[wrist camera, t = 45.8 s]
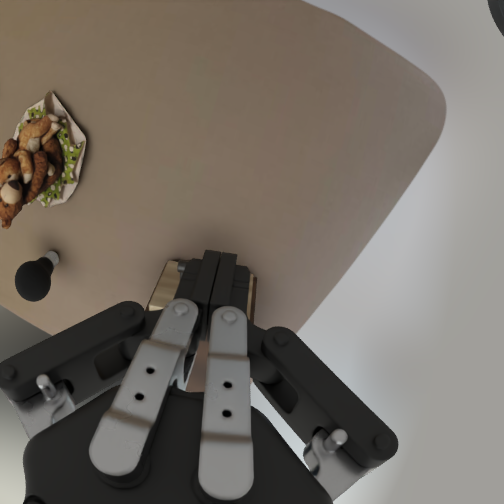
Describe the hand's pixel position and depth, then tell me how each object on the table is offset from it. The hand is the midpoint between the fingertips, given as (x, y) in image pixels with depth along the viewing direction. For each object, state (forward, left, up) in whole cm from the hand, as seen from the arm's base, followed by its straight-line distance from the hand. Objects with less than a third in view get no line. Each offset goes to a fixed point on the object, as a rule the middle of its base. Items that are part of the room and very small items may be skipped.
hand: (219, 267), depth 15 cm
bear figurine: (+26, -4, -22) cm, 35 cm away
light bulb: (+32, +12, -22) cm, 41 cm away
